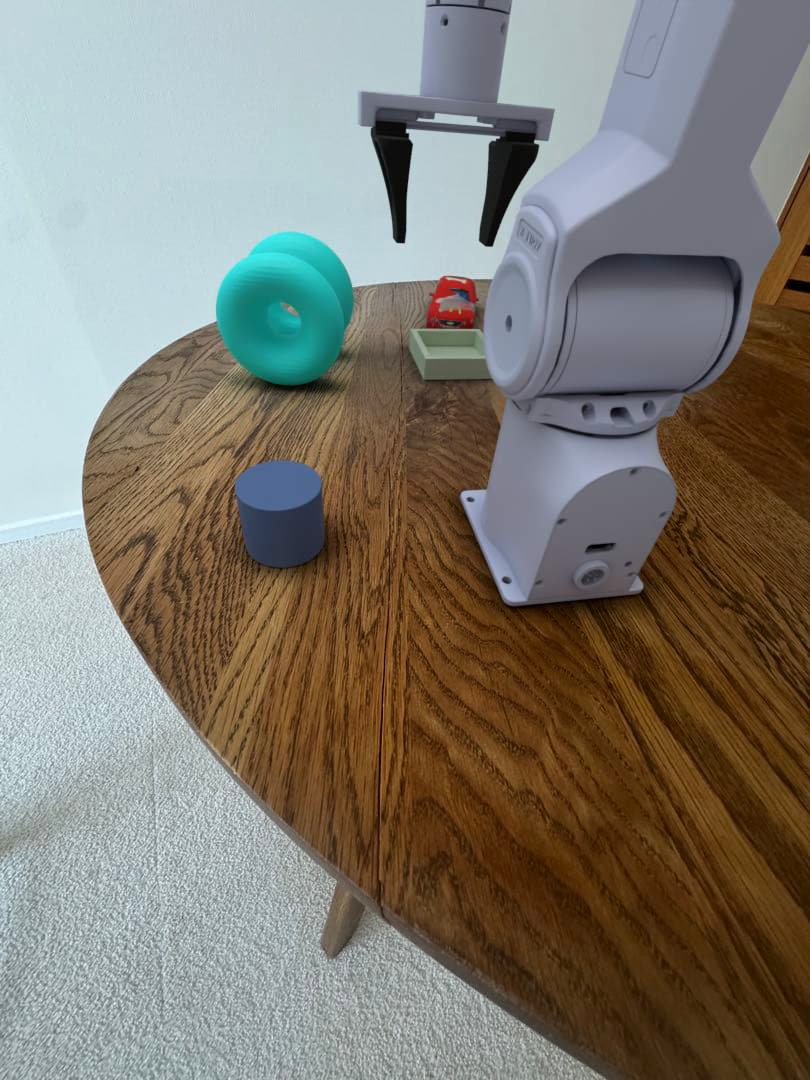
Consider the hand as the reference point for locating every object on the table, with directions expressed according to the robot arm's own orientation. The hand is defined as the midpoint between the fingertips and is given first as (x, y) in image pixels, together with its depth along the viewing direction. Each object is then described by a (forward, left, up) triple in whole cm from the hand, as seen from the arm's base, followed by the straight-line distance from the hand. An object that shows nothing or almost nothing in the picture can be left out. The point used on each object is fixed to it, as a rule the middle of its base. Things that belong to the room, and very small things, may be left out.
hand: (443, 242), depth 43 cm
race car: (+11, -5, -10) cm, 15 cm away
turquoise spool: (-2, +13, -10) cm, 17 cm away
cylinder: (-25, +14, -10) cm, 31 cm away
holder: (-1, -2, -10) cm, 10 cm away
